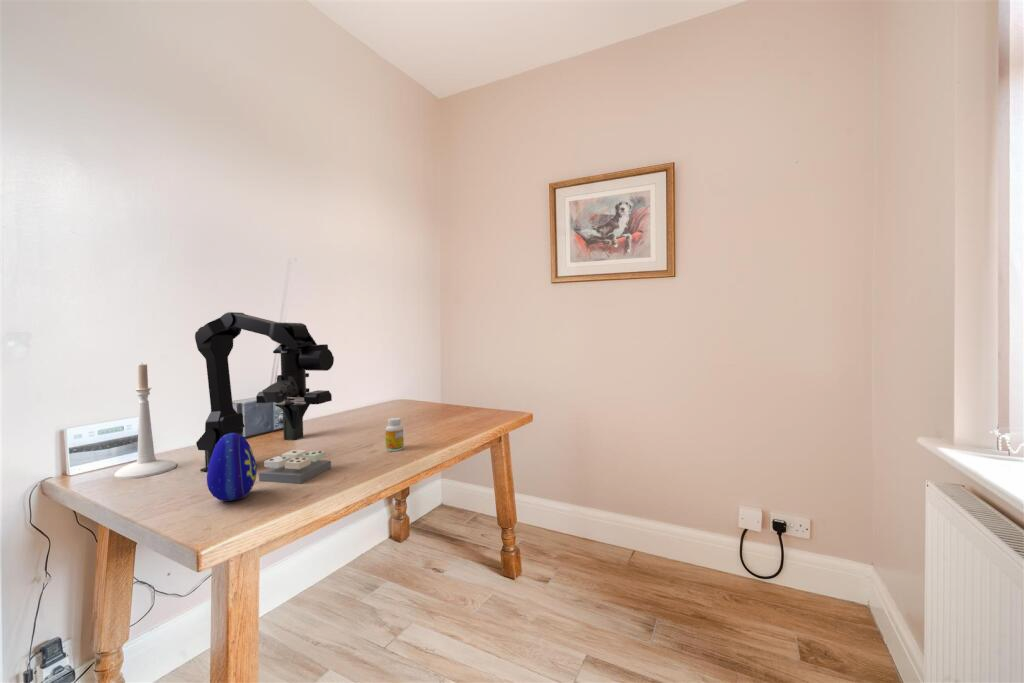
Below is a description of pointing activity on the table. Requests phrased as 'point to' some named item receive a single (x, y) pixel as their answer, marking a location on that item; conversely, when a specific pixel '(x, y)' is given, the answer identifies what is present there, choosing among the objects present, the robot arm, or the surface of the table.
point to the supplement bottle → (394, 435)
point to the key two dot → (276, 462)
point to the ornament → (231, 468)
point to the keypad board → (295, 473)
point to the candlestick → (144, 438)
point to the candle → (288, 431)
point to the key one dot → (294, 453)
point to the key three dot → (314, 455)
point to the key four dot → (297, 463)
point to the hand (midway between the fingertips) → (295, 429)
